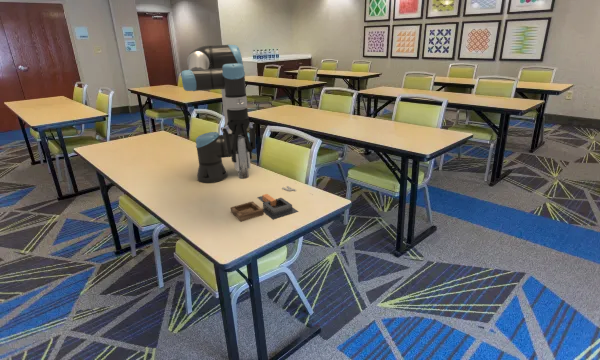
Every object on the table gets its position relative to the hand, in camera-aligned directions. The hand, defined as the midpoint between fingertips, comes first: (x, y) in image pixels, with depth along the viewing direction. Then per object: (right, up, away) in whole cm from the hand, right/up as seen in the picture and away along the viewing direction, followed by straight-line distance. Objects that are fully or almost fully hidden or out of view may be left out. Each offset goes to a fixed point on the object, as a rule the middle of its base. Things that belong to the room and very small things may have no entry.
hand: (242, 168), depth 138 cm
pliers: (+20, -11, +26) cm, 35 cm away
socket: (+11, -16, +14) cm, 24 cm away
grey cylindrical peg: (0, -3, +1) cm, 4 cm away
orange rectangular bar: (+9, -15, +16) cm, 24 cm away
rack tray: (+1, -19, +8) cm, 20 cm away
